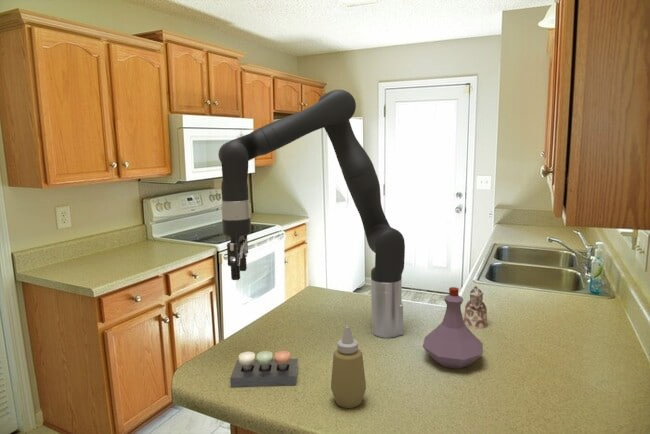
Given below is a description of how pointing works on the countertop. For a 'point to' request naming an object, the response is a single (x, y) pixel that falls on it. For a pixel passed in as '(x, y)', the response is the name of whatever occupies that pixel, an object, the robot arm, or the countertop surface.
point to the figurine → (475, 310)
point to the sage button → (265, 360)
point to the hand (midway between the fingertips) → (239, 275)
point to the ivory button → (247, 360)
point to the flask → (453, 337)
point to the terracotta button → (282, 359)
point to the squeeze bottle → (348, 372)
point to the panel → (264, 375)
